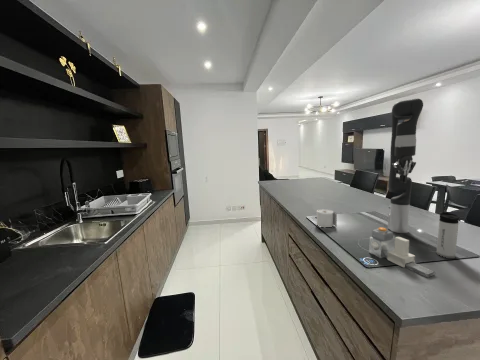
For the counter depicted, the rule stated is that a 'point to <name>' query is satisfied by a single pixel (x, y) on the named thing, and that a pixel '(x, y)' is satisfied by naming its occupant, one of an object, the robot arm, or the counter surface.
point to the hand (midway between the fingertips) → (403, 182)
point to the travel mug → (447, 235)
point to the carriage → (401, 252)
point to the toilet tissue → (326, 218)
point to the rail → (417, 268)
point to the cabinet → (381, 243)
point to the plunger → (382, 230)
